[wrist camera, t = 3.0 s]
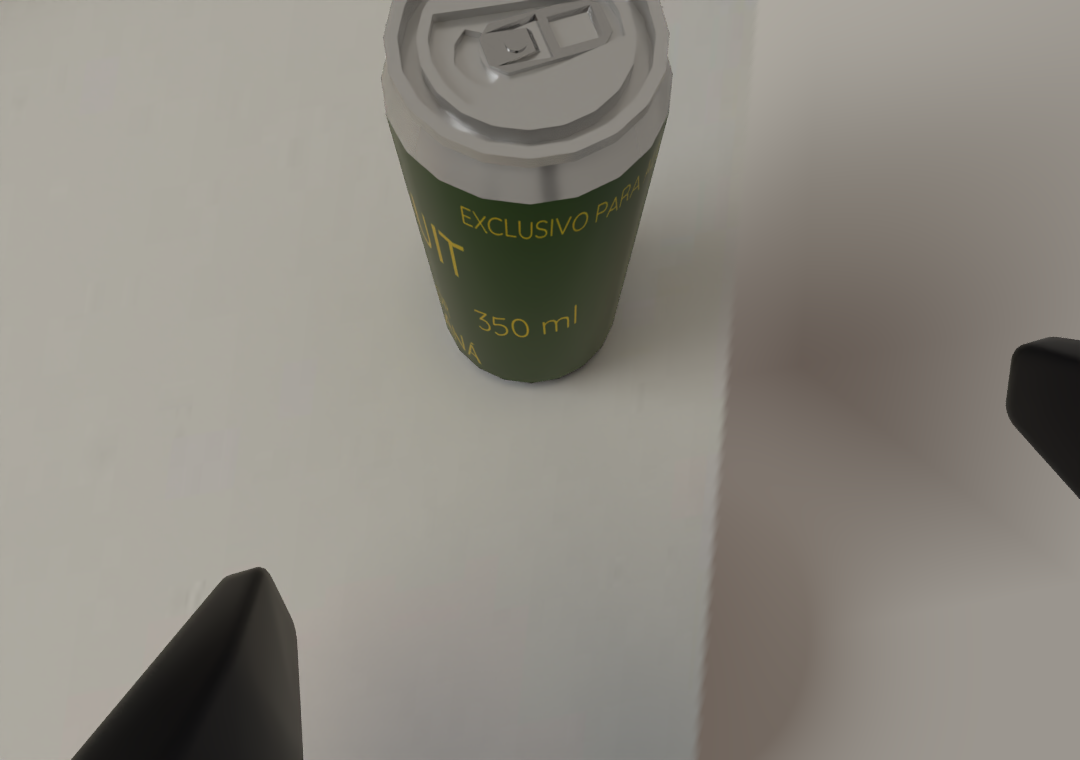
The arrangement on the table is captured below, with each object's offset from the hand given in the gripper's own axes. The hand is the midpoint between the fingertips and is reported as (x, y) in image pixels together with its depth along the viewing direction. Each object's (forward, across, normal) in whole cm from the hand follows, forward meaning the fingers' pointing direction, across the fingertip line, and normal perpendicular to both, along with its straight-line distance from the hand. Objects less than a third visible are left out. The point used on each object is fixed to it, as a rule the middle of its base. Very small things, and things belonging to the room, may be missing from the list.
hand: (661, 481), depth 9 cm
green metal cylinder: (+16, -1, +4) cm, 16 cm away
